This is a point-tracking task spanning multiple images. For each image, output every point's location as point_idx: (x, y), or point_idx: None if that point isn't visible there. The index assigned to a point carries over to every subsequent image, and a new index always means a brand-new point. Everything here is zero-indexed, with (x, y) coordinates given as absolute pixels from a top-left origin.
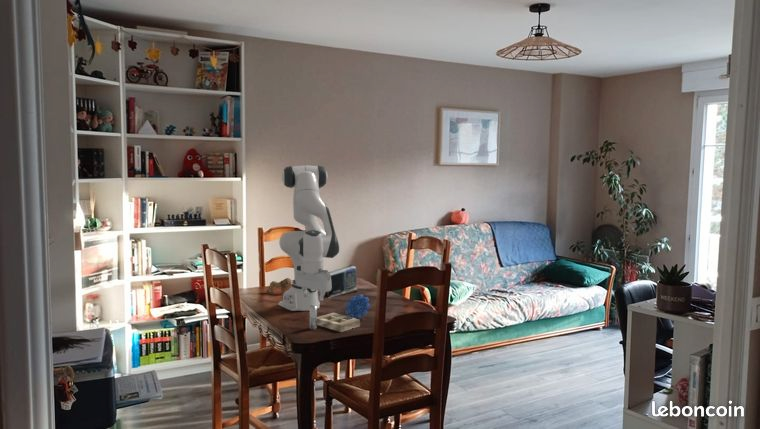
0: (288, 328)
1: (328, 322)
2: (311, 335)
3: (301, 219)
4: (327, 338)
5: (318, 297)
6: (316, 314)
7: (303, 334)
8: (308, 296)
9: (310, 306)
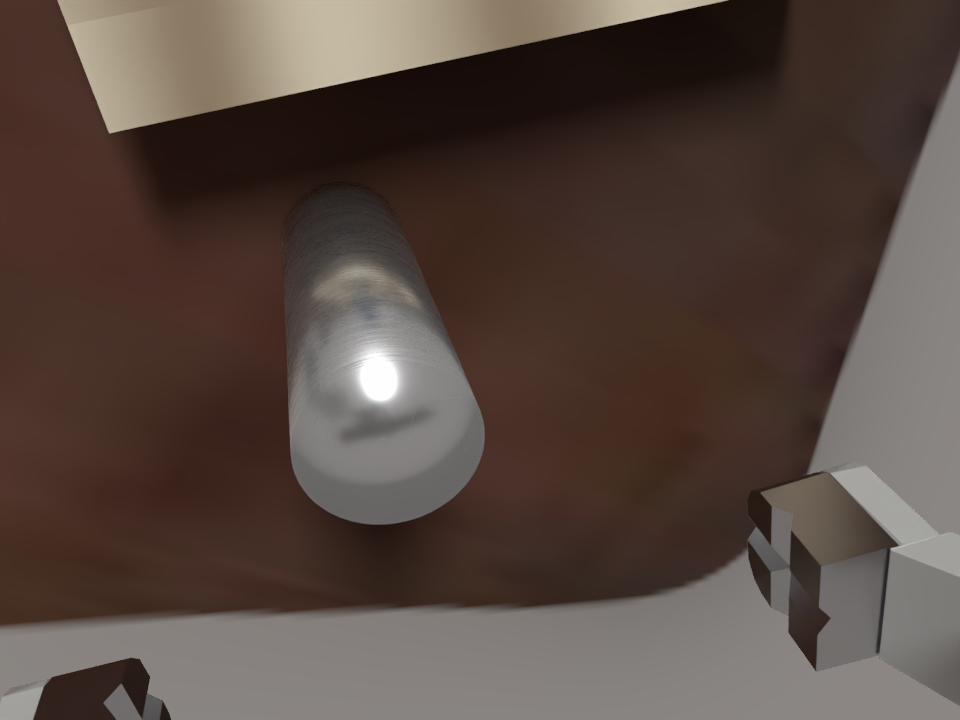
0: (153, 532)
1: (526, 39)
2: (611, 399)
3: None
4: (837, 288)
5: (820, 645)
6: (436, 308)
7: (513, 463)
8: (130, 672)
9: (370, 508)
